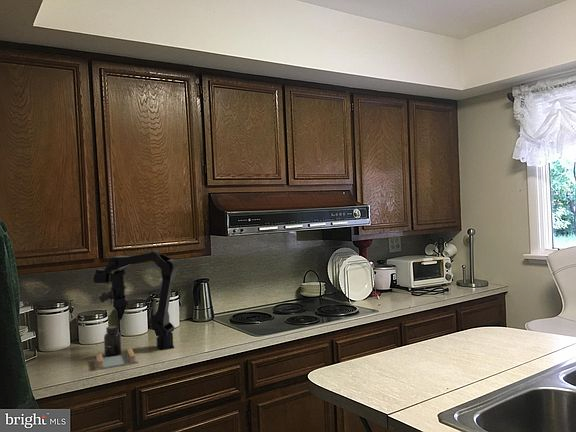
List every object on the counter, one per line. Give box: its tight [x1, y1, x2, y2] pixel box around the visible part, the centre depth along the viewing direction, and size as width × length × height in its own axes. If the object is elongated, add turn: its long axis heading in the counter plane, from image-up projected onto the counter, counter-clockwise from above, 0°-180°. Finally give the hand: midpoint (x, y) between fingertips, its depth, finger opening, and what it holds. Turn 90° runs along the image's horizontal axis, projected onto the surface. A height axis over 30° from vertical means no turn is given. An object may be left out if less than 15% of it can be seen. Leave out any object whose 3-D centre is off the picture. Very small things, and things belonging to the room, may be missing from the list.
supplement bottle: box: [103, 325, 122, 358], centre depth 202 cm, size 7×7×12 cm
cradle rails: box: [95, 347, 136, 368], centre depth 192 cm, size 14×13×2 cm
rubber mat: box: [93, 353, 139, 371], centre depth 192 cm, size 16×13×1 cm
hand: (119, 318), depth 214 cm, fingers open, 6 cm apart
